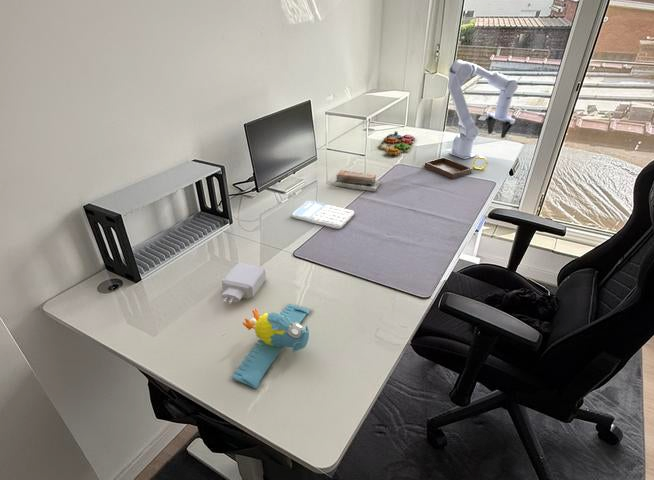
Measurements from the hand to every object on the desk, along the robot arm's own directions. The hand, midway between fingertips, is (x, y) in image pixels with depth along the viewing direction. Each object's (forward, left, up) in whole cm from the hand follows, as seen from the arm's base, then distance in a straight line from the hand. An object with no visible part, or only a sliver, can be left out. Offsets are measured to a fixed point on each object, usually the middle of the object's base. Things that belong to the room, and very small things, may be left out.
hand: (496, 135), depth 205 cm
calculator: (+10, -108, -10) cm, 108 cm away
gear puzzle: (-34, -34, -10) cm, 49 cm away
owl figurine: (+59, -153, -10) cm, 164 cm away
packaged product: (-6, -80, -10) cm, 80 cm away
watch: (+10, -22, -10) cm, 26 cm away
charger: (+36, -153, -10) cm, 157 cm away
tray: (+3, -35, -9) cm, 36 cm away
